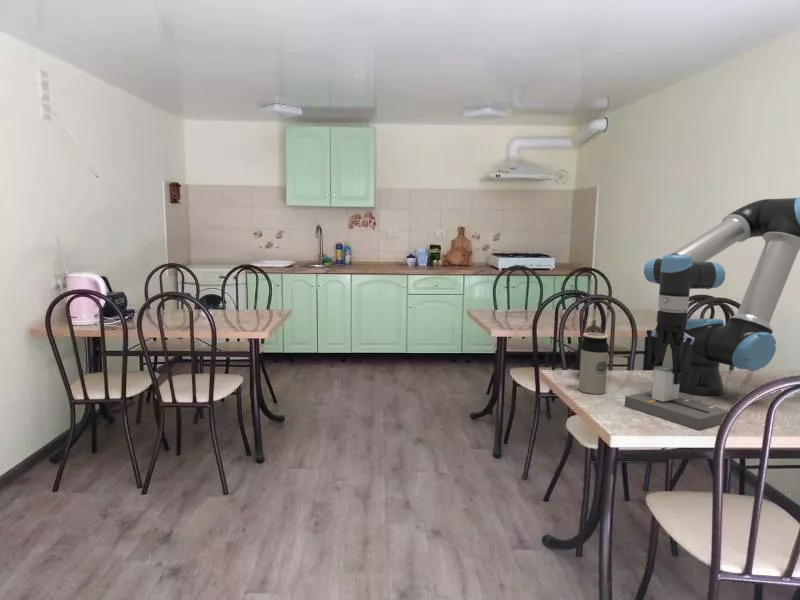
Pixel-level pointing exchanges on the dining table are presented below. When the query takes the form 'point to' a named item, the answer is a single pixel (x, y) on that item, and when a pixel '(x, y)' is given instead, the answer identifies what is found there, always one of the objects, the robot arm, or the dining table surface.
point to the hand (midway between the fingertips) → (665, 392)
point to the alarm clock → (591, 331)
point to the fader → (662, 383)
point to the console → (678, 410)
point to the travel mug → (593, 363)
